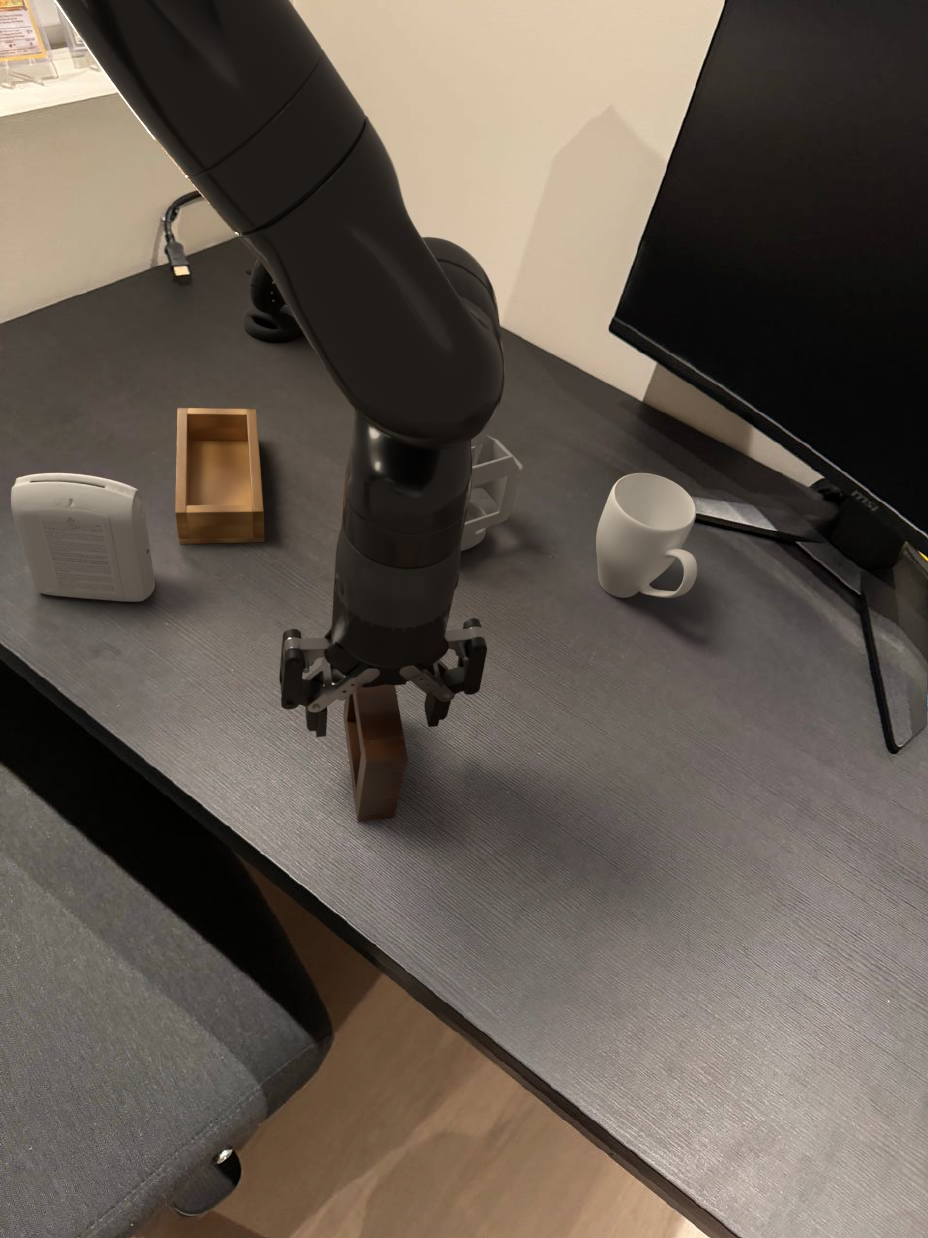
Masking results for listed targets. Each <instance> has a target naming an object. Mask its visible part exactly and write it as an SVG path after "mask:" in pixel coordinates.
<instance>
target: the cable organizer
mask: <svg viewBox="0 0 928 1238" xmlns="http://www.w3.org/2000/svg"><path fill="white" fill-rule="evenodd" d="M477 446H480V448H479V453H478V458H477V462H476V465H473V464H474V460H475V455H476V451H477ZM471 451H472V488H471V490H475V489H482V490H483V491H485V492H486V494H488V495H489V497H490V498H491V499H492V500H493V502H495V504H496V505H497V506H498V509H497V511H495V512H492V513H489V514H487V512H486V511H485V510H484V508H483V507H481V506H480V505H479V504H478V503H476V502H474V501H472V500H470V501H469V505H468V511H467V515H466V520H465V525H464V529H463V534H462V539H461V552H463V551H466V550H469V549H472V548H473V547H475V546H476V545H478V544H480V543H481V542H482V541H483V540H484V538H485V536H486V532H487V528H489V527H493V526H495V525H498V524H501V523H503V522H506V521H508V520H509V518H510V516H511V512H512V509H513V504H514V502H515V497H516V493H517V490H518V486H519V483H520V479H521V475H522V471H523V468H524V466H523V464H522V463H521V462H520V461H519V460H518V459H517V458H516V457H515V456H514V455H513V454H512V452H510V451H509V450H508V448H507V447H506V446H505V445H504V444H503V443H502V442H501V440H498V439H496V438H494V437H492V436H489V435H488V434H487V432H486V431H485V429H484V430H483V431H482V432H481V433H480V434H479V435H477V436H476V437H475V438H473V439H472V440H471Z"/></svg>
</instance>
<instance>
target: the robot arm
mask: <svg viewBox="0 0 928 1238" xmlns="http://www.w3.org/2000/svg"><path fill="white" fill-rule="evenodd" d="M54 2H55V3H56V5H57V6H58V8H59V9H60V10H61V12H62V14H63V15H64V16H65V18H66V19H67V21H68V22H69V24H70V26H71V27H72V28H73V30H74V31H75V32H76V34H77V36H78V37H79V38H80V40H81V41H82V43H83V44H84V46H85V47H86V48H87V50H88V51H89V53H90V54H91V56H92V57H93V58H94V60H95V62H96V63H97V65H98V66H99V67H100V69H101V70H102V71H103V73H104V74H105V76H106V77H107V79H108V80H109V81H110V83H111V84H112V86H113V87H114V88H115V90H116V91H117V93H118V94H119V95H120V97H121V98H122V99H123V101H124V102H125V103H126V105H127V106H128V108H129V109H130V110H131V111H132V113H133V114H134V115H135V117H136V118H137V119H138V120H139V122H140V123H141V124H142V126H143V127H144V128H145V129H146V131H147V133H149V135H150V136H151V137H152V138H153V140H154V141H155V142H156V143H157V144H158V146H159V147H160V148H161V149H162V151H163V152H164V153H165V154H166V155H167V157H168V158H169V159H170V160H171V161H172V162H173V163H174V166H176V167H177V169H179V171H180V172H181V173H182V174H183V175H184V176H185V178H186V179H187V180H188V181H189V183H191V185H192V186H193V187H194V188H195V189H196V190H197V192H198V193H199V194H200V195H201V196H202V198H203V199H204V200H205V201H206V202H207V203H208V205H210V207H211V208H212V209H213V210H214V211H215V213H216V214H217V215H218V216H219V217H220V218H221V219H222V221H223V222H224V223H225V224H226V225H227V226H228V228H229V229H230V230H231V231H232V232H233V233H234V234H235V235H236V236H237V238H238V239H239V240H240V241H241V243H243V244H244V245H245V246H246V247H247V248H248V250H249V251H251V252H252V253H253V254H254V256H256V258H257V260H258V259H259V260H260V261H261V262H262V264H263V265H264V266H265V268H266V269H267V271H268V272H269V274H270V275H271V277H272V279H273V280H274V282H275V284H276V285H277V287H278V289H279V291H280V293H281V295H282V297H283V298H284V300H285V302H286V304H287V305H286V306H287V307H288V308H289V310H290V312H291V313H292V315H293V317H294V319H295V320H296V322H297V323H298V325H299V327H300V328H301V332H302V333H303V335H304V336H305V339H306V340H307V341H308V343H309V345H310V346H311V348H312V349H313V351H314V353H315V354H316V356H317V358H318V359H319V361H320V362H321V364H322V366H323V367H324V369H325V370H326V372H327V373H328V375H329V377H330V378H331V379H332V381H333V383H334V384H335V386H336V387H337V388H338V390H339V391H340V393H341V394H342V395H343V396H344V398H345V399H346V401H347V402H348V403H349V404H350V405H351V406H352V408H353V409H354V419H353V430H352V431H353V432H352V439H351V443H350V448H349V454H348V458H347V464H346V469H345V475H344V485H343V500H342V501H343V502H342V515H341V516H342V517H341V526H340V531H339V533H338V537H337V543H336V550H335V561H334V579H333V595H332V597H333V598H332V612H331V613H332V615H331V626H330V629H329V630H328V631H327V632H326V633H325V635H324V637H309V638H308V637H306V638H303V637H302V632H301V630H299V629H297V628H288V629H286V630H285V631H283V633H282V641H281V650H280V651H281V652H280V663H279V674H278V675H279V676H278V680H279V685H280V695H281V697H280V705H281V708H283V710H294V709H297V708H298V707H299V706H303V707H304V709H305V710H304V711H305V723H306V729H307V730H308V732H315V737H316V738H325V737H327V727H328V707H329V706H330V705H331V704H333V702H335V701H336V700H337V701H340V702H343V701H345V699H346V698H347V697H348V696H350V695H351V694H352V693H353V692H355V691H356V690H357V689H359V688H360V687H361V686H362V688H367V687H376V686H380V685H395V686H405V685H407V682H411V683H413V684H414V685H415V686H416V687H418V688H419V689H420V690H421V691H422V692H423V693H424V694H425V698H424V704H423V705H424V713H425V719H426V723H427V727H428V728H434V727H438V726H439V724H440V721H443V720H445V719H446V718H447V717H448V714H449V712H450V711H449V710H450V706H451V702H452V701H453V700H454V699H455V697H456V695H457V694H458V693H462V692H463V694H464V695H467V696H472V695H475V694H477V693H479V691H480V690H481V684H482V679H483V674H484V669H485V665H486V658H487V654H488V646H487V642H486V639H485V635H484V631H483V628H482V624H481V621H480V619H479V618H476V617H472V618H469V619H466V620H465V621H464V622H463V625H462V628H459V629H449V630H448V629H447V628H448V623H449V619H450V613H451V609H452V605H453V600H454V595H455V590H457V587H458V585H459V580H460V573H459V572H460V568H461V559H462V557H461V556H462V551H461V539H462V534H463V529H464V525H465V520H466V515H467V511H468V505H469V501H471V493H472V489H471V488H472V467H473V465H472V451H471V440H472V439H473V438H475V437H476V436H477V435H479V434H480V433H481V432H482V431H483V430H484V431H485V429H486V428H487V426H488V425H489V424H490V423H491V421H492V420H493V418H494V417H495V415H496V413H497V411H498V409H499V406H500V404H501V401H502V398H503V392H504V387H505V381H506V363H505V355H504V348H503V347H504V346H503V339H502V331H501V323H500V313H499V307H498V301H497V300H498V299H497V297H496V293H495V289H494V287H493V284H492V282H491V280H490V278H489V276H488V274H487V273H486V271H485V269H484V267H483V266H482V265H481V263H480V262H479V261H478V260H477V258H476V257H475V256H474V255H472V254H471V253H470V252H469V251H468V250H466V249H465V248H463V247H461V246H460V245H458V244H457V243H455V242H453V241H451V240H448V239H445V238H441V237H434V236H422V235H421V234H420V232H419V231H418V229H417V228H416V226H415V223H414V222H413V220H412V218H411V216H410V214H409V212H408V209H407V207H406V204H405V200H404V197H403V192H402V188H401V184H400V180H399V179H400V178H399V176H398V172H397V169H396V167H395V164H394V161H393V158H392V157H391V155H390V153H389V151H388V149H387V147H386V145H385V144H384V142H383V140H382V138H381V136H380V135H379V133H378V131H377V129H376V127H375V126H374V125H373V122H372V121H371V120H370V118H369V117H368V116H367V114H366V113H365V111H364V109H363V107H362V106H361V104H360V103H359V101H358V100H357V98H356V97H355V95H354V94H353V93H352V91H351V89H350V88H349V86H348V84H346V82H345V80H344V79H343V77H342V75H340V73H339V72H338V70H337V69H336V67H335V65H334V64H333V63H332V61H331V60H330V58H329V57H328V55H327V53H326V52H325V50H324V49H323V48H322V46H321V44H320V43H319V41H318V40H317V39H316V37H315V36H314V34H313V33H312V31H311V29H310V28H309V27H308V25H307V24H306V22H305V21H304V19H303V18H302V17H301V15H300V14H299V12H298V11H297V10H296V8H295V6H294V5H293V4H292V2H291V0H54ZM449 650H453V651H454V653H455V656H456V657H458V658H457V665H456V667H453V668H449V667H448V666H446V664H445V663H443V662H442V661H441V660H440V659H442V658H443V657H445V655H446V654H447V653H448V651H449ZM320 658H322V660H321V664H320V665H319V666H318V667H317V668H316V669H315V670H314V671H313V672H311V673H310V667H312V666H313V665H314V664H315V662H316V661H317V660H318V659H320ZM309 673H310V674H309ZM304 674H309V675H308V676H306V677H305V678H303V675H304Z"/></svg>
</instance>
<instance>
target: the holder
mask: <svg viewBox="0 0 928 1238" xmlns="http://www.w3.org/2000/svg"><path fill="white" fill-rule="evenodd" d="M176 412H177V413H176V454H175V455H176V457H175V459H176V460H175V461H176V462H175V497H174V498H175V501H174V504H175V506H174V507H175V508H174V514H175V515H174V516H175V523H176V530H177V538H178V544H180V545H188V544H192V545H193V544H228V543H229V544H234V543H264V542H265V514H264V513H265V511H264V499H263V498H264V497H263V483H262V482H263V481H262V469H261V457H260V455H261V454H260V444H259V430H258V427H259V426H258V416H257V415H258V414H257V409H256V408H210V407H209V408H205V407H204V408H201V407H200V408H199V407H198V408H197V407H178V408H177V411H176Z"/></svg>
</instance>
